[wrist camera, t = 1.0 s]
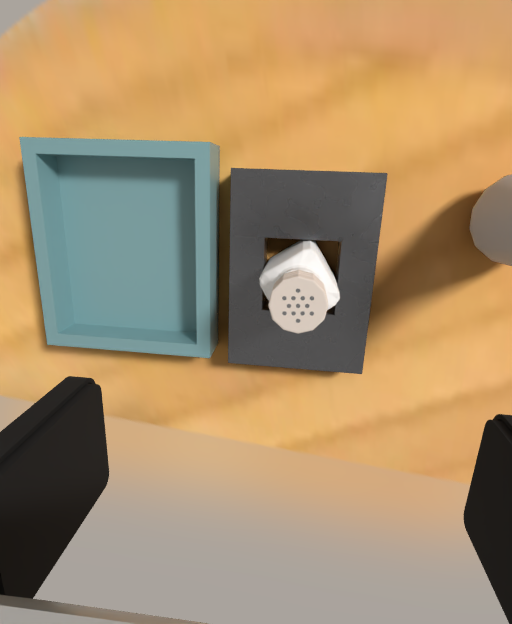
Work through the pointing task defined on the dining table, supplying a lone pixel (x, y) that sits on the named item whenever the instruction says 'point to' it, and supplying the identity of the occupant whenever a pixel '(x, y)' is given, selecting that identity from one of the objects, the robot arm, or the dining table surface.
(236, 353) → the socket block
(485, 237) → the salt shaker
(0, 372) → the dining table surface
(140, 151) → the tray
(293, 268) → the pepper shaker
